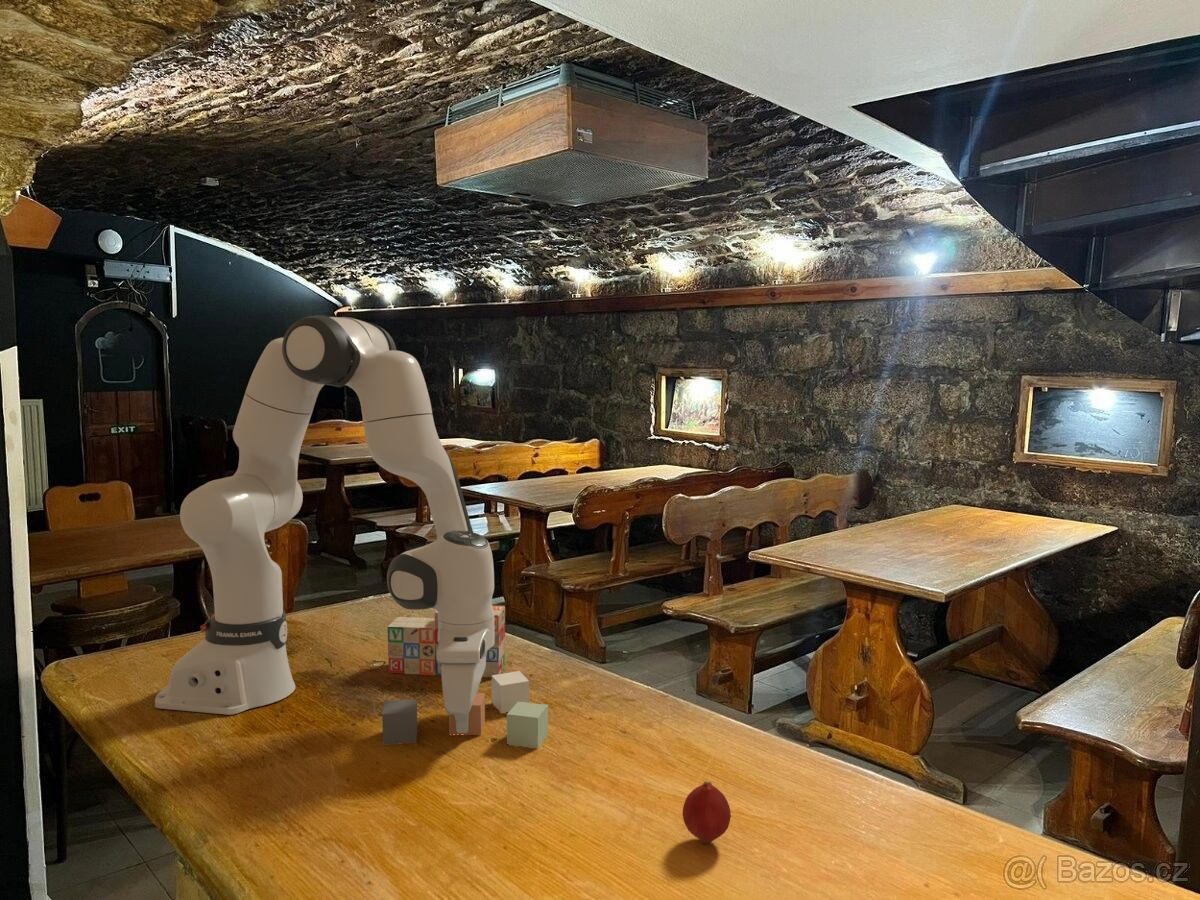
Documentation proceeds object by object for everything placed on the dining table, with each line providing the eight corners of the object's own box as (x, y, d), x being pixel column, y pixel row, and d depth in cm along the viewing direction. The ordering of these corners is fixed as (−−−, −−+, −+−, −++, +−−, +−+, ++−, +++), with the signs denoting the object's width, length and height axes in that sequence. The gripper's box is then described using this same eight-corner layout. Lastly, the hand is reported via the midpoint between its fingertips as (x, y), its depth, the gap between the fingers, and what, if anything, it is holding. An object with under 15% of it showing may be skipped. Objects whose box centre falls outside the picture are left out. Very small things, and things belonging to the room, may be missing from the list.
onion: (678, 830, 105) (679, 769, 104) (723, 828, 106) (724, 767, 105) (687, 857, 99) (688, 793, 98) (734, 854, 100) (736, 791, 99)
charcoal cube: (382, 745, 128) (382, 714, 127) (385, 731, 133) (384, 701, 132) (416, 743, 129) (415, 711, 128) (417, 729, 134) (416, 699, 133)
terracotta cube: (449, 735, 131) (448, 705, 131) (454, 722, 136) (453, 692, 136) (480, 735, 132) (480, 705, 131) (484, 722, 136) (484, 692, 136)
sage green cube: (506, 745, 128) (506, 714, 128) (518, 731, 133) (518, 701, 133) (537, 749, 127) (537, 717, 127) (548, 735, 132) (548, 704, 131)
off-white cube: (501, 714, 140) (500, 685, 139) (491, 703, 144) (491, 675, 144) (529, 709, 142) (529, 680, 141) (519, 698, 146) (519, 671, 146)
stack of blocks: (387, 674, 157) (386, 610, 156) (398, 662, 164) (397, 601, 162) (499, 678, 156) (499, 614, 154) (505, 666, 162) (505, 604, 161)
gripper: (457, 614, 143) (458, 692, 144) (434, 656, 122) (435, 746, 124) (494, 614, 143) (494, 692, 144) (477, 656, 122) (478, 746, 124)
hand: (467, 718), depth 134 cm, fingers open, 8 cm apart
